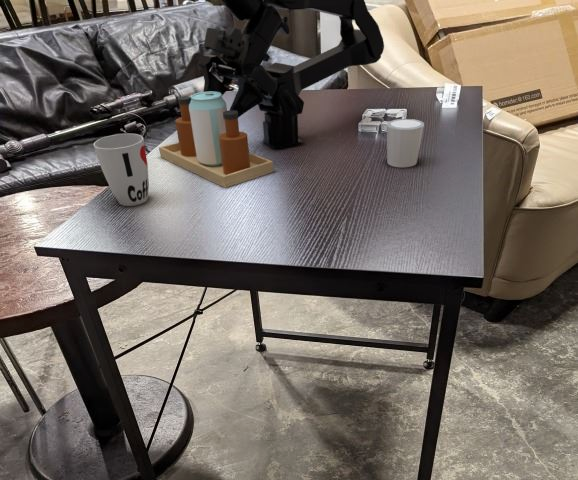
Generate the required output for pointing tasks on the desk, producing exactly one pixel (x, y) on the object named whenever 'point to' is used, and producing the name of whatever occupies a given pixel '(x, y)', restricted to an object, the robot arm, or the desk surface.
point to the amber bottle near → (233, 145)
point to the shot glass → (403, 142)
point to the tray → (217, 167)
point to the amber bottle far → (185, 128)
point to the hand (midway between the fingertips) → (214, 116)
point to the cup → (124, 167)
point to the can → (207, 126)
